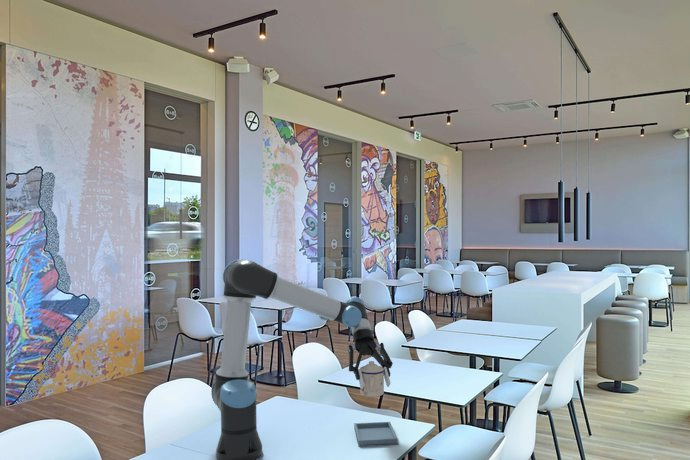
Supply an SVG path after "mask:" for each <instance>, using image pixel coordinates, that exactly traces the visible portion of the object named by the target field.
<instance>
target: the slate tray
mask: <svg viewBox="0 0 690 460" xmlns="http://www.w3.org/2000/svg"><path fill="white" fill-rule="evenodd" d="M353 427H354V428H353V429H354V433H355V438H356V442H357V445H358V447H374V446H393V445H398V444H399V443H398V442H399V441H398V440H399V438H398V437H397V434H396V431H395V430H394V428H393V425H392V423H391V421H379V422H378V421H377V422H357V423H353Z"/></svg>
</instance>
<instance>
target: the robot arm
mask: <svg viewBox="0 0 690 460" xmlns="http://www.w3.org/2000/svg"><path fill="white" fill-rule="evenodd" d="M222 280H223V283H224V286H223V287H224V288H223V289H224V290H223V298H224V299H225V300H226V301H227V302H226V310H225V322H224V330H223V341H222V350H221V351H222V352H221V361H220V367H219V368H218V369H217V370H216V371H215V376H214V381H213V384H212V386H211V389H210V390H211V391H210V392H211V398H212V401H213V403H214V404H215V406H217V408H218V410H219V412H220V436H219V439H218V443H217V446H216V450H215V455H216V456H215V457H216V459H217V460H257V459H258V458H260V457H261V456H262V454H263V444H262V441H261V438H260V435H259V432H258V427H257V424H258V423H257V395H258V393H257V389H256V385H255V384H254V383H253V382H252V381H249V374H250V373H249V371H247V369H246V359H247V352H248V351H247V349H248V341H249V340H248V339H249V330H250V320H251V319H250V318H251V308H252V302H253V301H254V300H255V299H257V297H259V298H262V299H264V300H268V299H274V300H276V301H279V302H281V303H283V304H286V305H290V306H293V307H295V308H297V309H299V310H300V309H301V310H303V311H305V312H309V313H311V314H314V315H317V316H318V317H319V319H320V320H322V321H323V320H324V321H332V322H335V323H338V324H340V325H344V326H346V327H347V328H348V327H349V328H350V330H351V333H352V339H353V342H354V345H352V344H349V345H348V347H347V352H348V371H349V372H350V373H351V372H352V373H353V374H354V376H355V379H356V380H355V381H358V382H359V388H360V387H361V389H363V388H364V381H363V377H362V373H361V369H360V364H361V361H362V358H363V357H365V356H371V357H372V358H373V359H374V360H376V362H377V363H378V364H379V366H381V367H383V368H384V383H385V385H386V387H387V388H388V387H390V385H391V383H392V382H391V380H390V379H391V378H390V377H391V370H390V369H391V368H393V367H392V366H393V364H394V363H393V362H392V361H393V360H392V359H391V358H390V356H389V353H388V351H386V348H385V344H384V343H383V342H381V343H376V341H375V338H374V335H373V332H372V327H371V325H370V321H369V316H368V312H367V309H366V306H365V303H364V301H363V299H361V298H360V297H351V298H348V299H347V300H346V302H343V301H340V300H338V299H335V298H333V297H330V296H328V295H326V294H325V295H324V294H322V293H320V292H317V291H314V290H313V289H310V288H308V287H304V286H302V285H299V284H297V283H294V282H292V281H289V280H287V279H285V278H282V277H279V275H278V273H277V272H274V271H273V270H270V269H268V268H266V267H264V266H262V265H261V264H258V263H257V262H255V261H252V260H247V259H235V260H233V261H231V262H230V263H228V264H227V265H226V266H225V268H224V270H223V273H222ZM376 348H377V349H376ZM355 351H356V352H357V353H358V356H357V359H356V362H355V366H354V352H355ZM378 351H379V352H380V353H378Z"/></svg>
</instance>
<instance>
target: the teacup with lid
mask: <svg viewBox="0 0 690 460" xmlns="http://www.w3.org/2000/svg"><path fill="white" fill-rule="evenodd" d="M359 369H361V373H362V377H363V381H364V388H363V389H361V387H360V386H359V388H360V389H359V392H360V395H361V396H364V397H368V398H370V397H371V398H376V397H381V396H382V395H384V393H385V386H384V385H385V378H384V368H383V367H382V366H381V365H378V364H376V363H375V361H374V360H371V361H370V360H369V361H368V363H366V364H365V365H362V366H361V367H359Z"/></svg>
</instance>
